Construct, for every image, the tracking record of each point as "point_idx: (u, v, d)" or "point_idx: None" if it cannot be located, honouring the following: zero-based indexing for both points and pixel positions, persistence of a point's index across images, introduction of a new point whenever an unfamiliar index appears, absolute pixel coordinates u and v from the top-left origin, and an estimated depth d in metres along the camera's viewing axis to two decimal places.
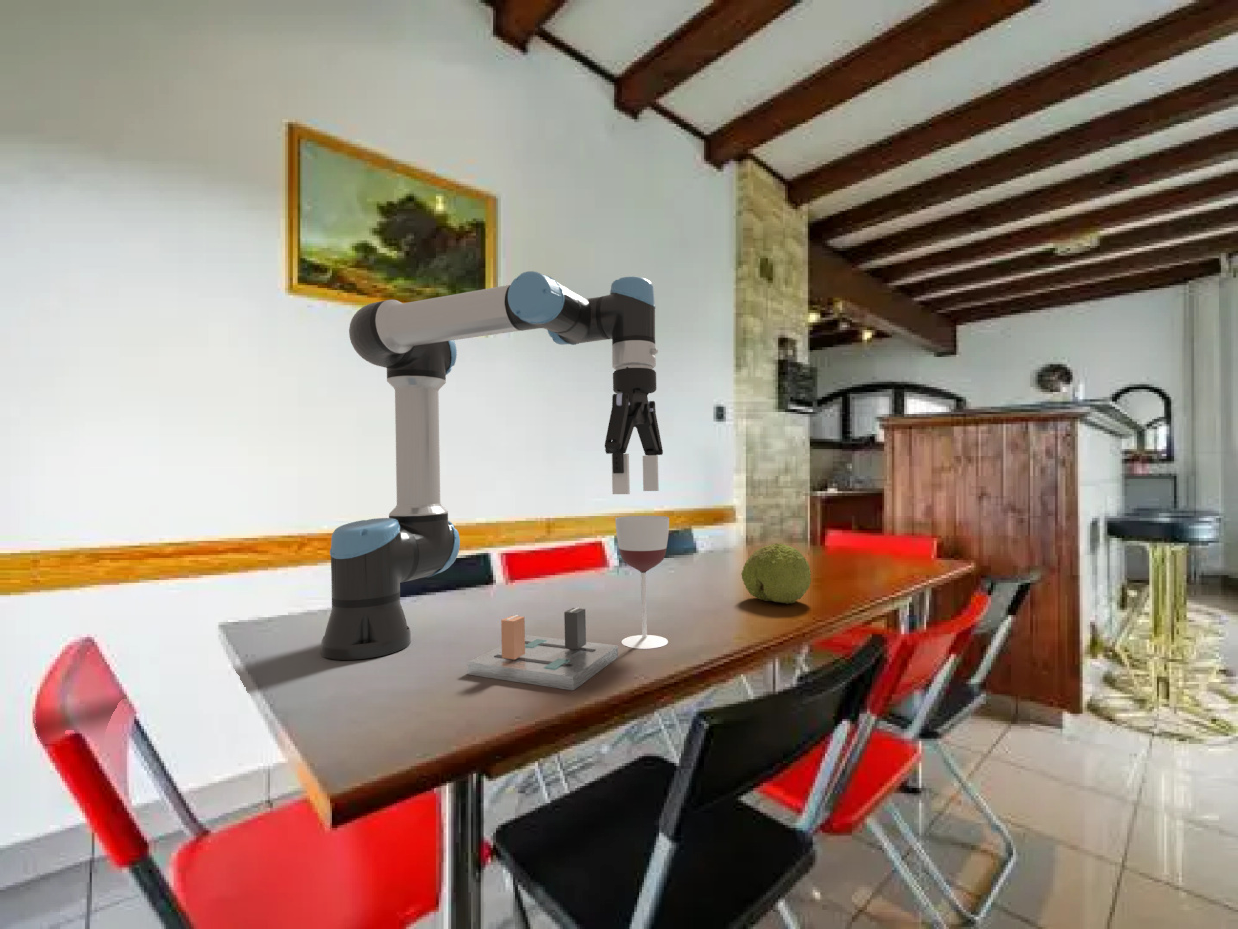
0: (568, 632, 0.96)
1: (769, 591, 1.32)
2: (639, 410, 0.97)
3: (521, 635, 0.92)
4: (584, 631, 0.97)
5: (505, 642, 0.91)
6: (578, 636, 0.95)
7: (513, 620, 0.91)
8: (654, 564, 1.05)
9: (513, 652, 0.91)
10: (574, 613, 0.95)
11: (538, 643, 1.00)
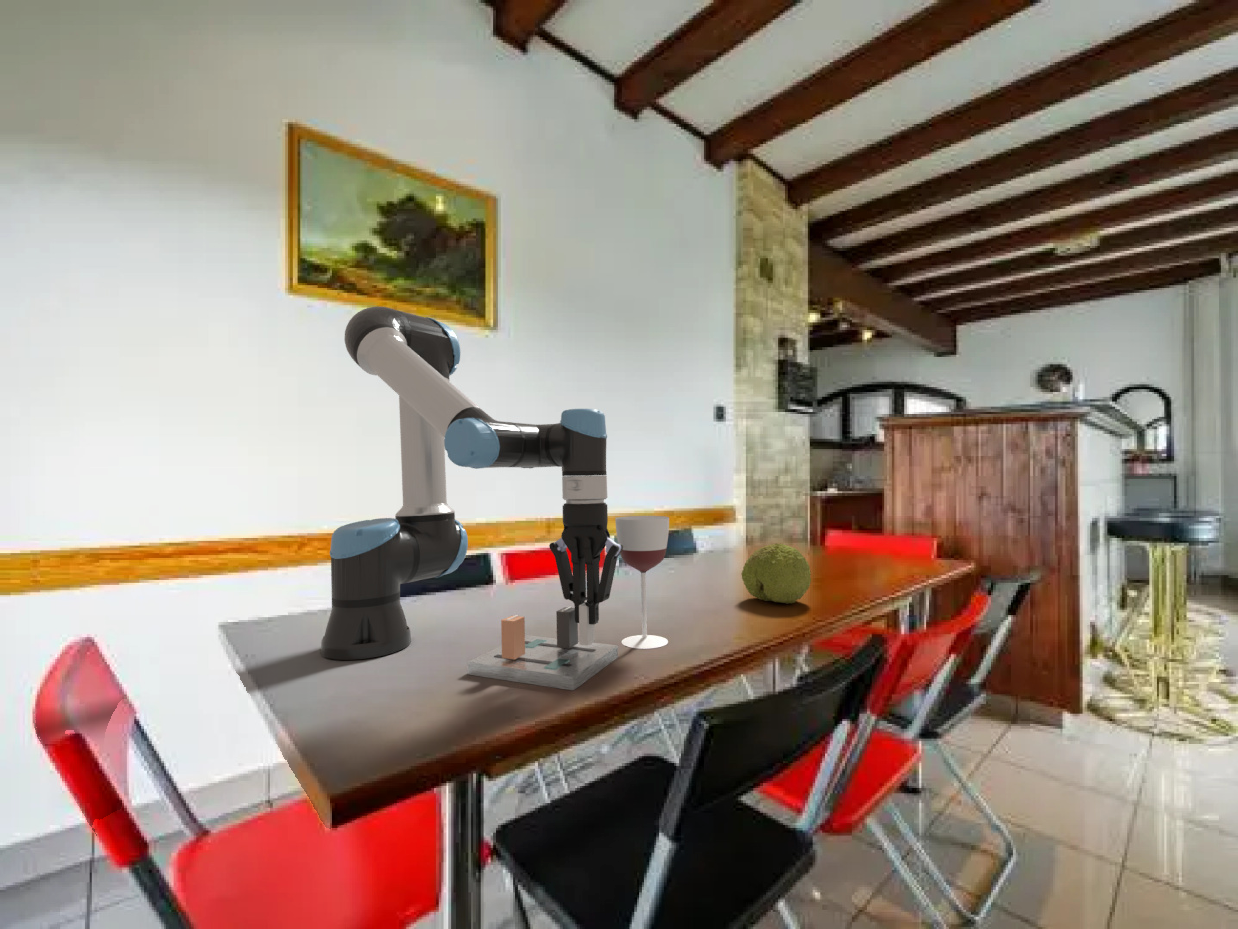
0: (560, 631, 0.96)
1: (769, 591, 1.32)
2: (573, 549, 0.95)
3: (521, 635, 0.92)
4: (576, 630, 0.98)
5: (505, 642, 0.91)
6: (570, 635, 0.96)
7: (513, 620, 0.91)
8: (654, 564, 1.05)
9: (513, 652, 0.91)
10: (566, 612, 0.96)
11: (538, 643, 1.00)
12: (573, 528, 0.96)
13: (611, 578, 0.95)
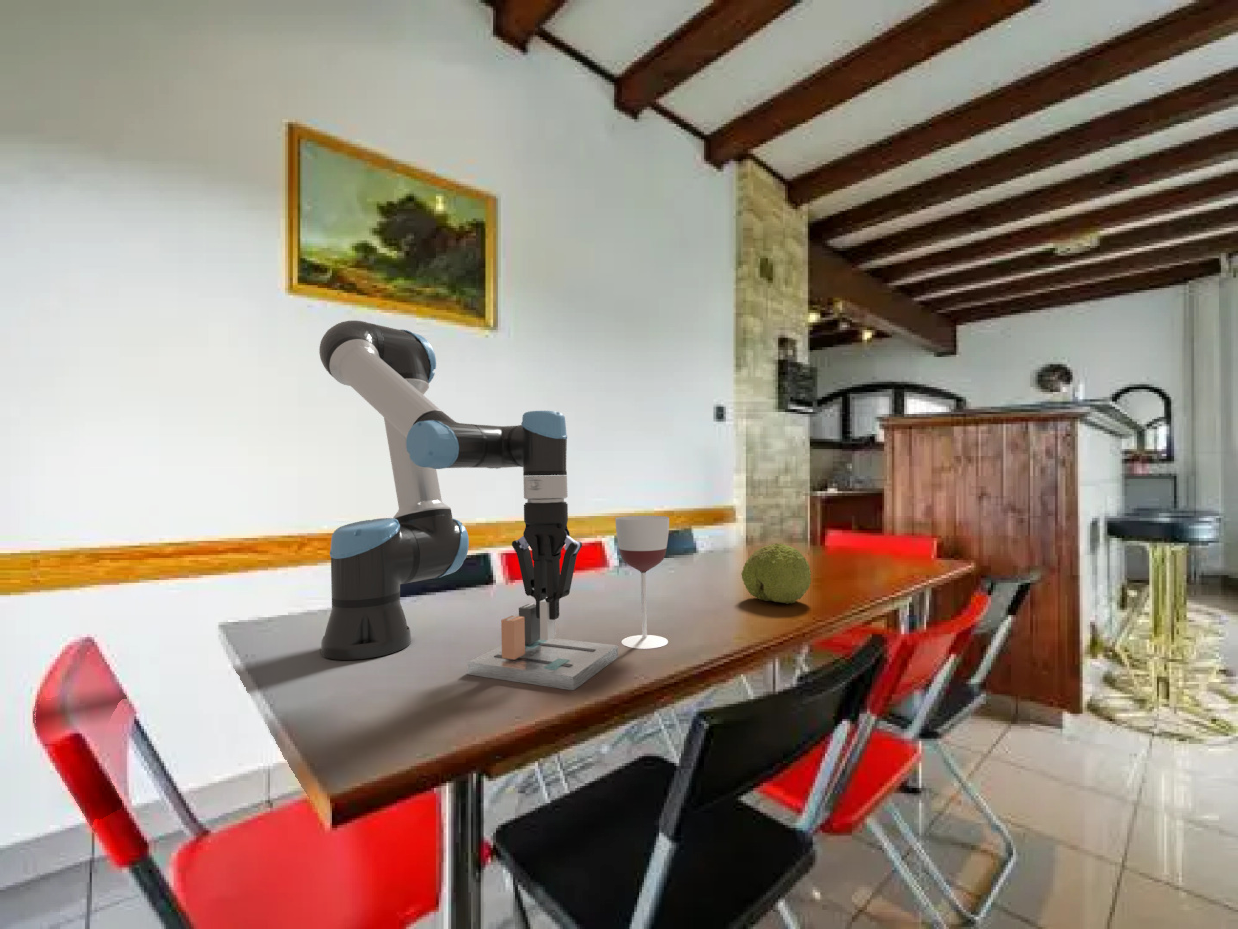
0: None
1: (769, 591, 1.32)
2: (533, 547, 0.98)
3: (521, 635, 0.92)
4: (538, 626, 1.01)
5: (505, 642, 0.91)
6: (532, 631, 0.99)
7: (513, 620, 0.91)
8: (654, 564, 1.05)
9: (513, 652, 0.91)
10: (528, 609, 0.99)
11: (538, 643, 1.00)
12: (534, 526, 0.99)
13: (571, 575, 0.98)
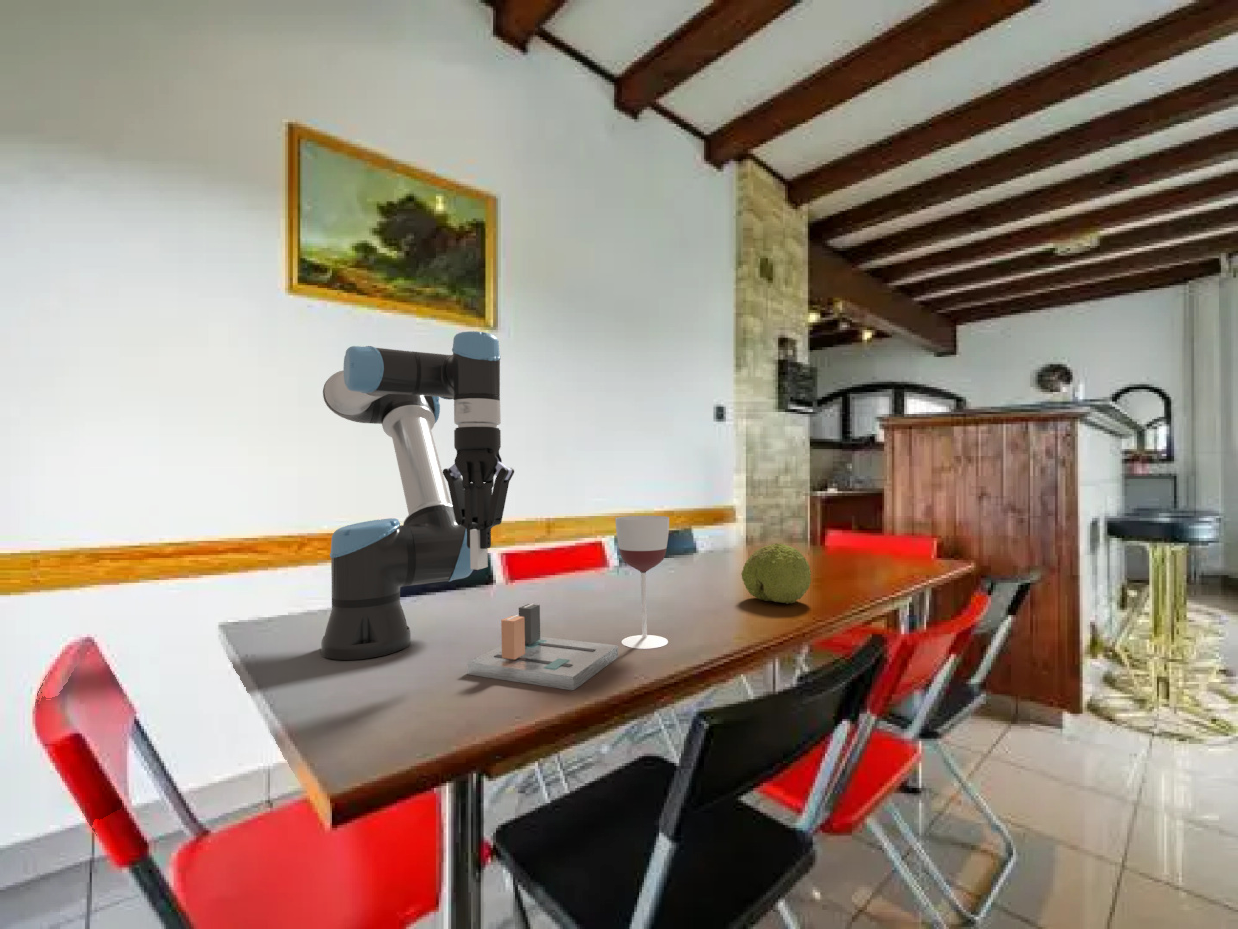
0: None
1: (769, 591, 1.32)
2: (464, 473, 0.95)
3: (521, 635, 0.92)
4: (538, 626, 1.01)
5: (505, 642, 0.91)
6: (532, 631, 0.99)
7: (513, 620, 0.91)
8: (654, 564, 1.05)
9: (513, 652, 0.91)
10: (528, 609, 0.99)
11: (538, 643, 1.00)
12: (465, 453, 0.95)
13: (502, 502, 0.95)
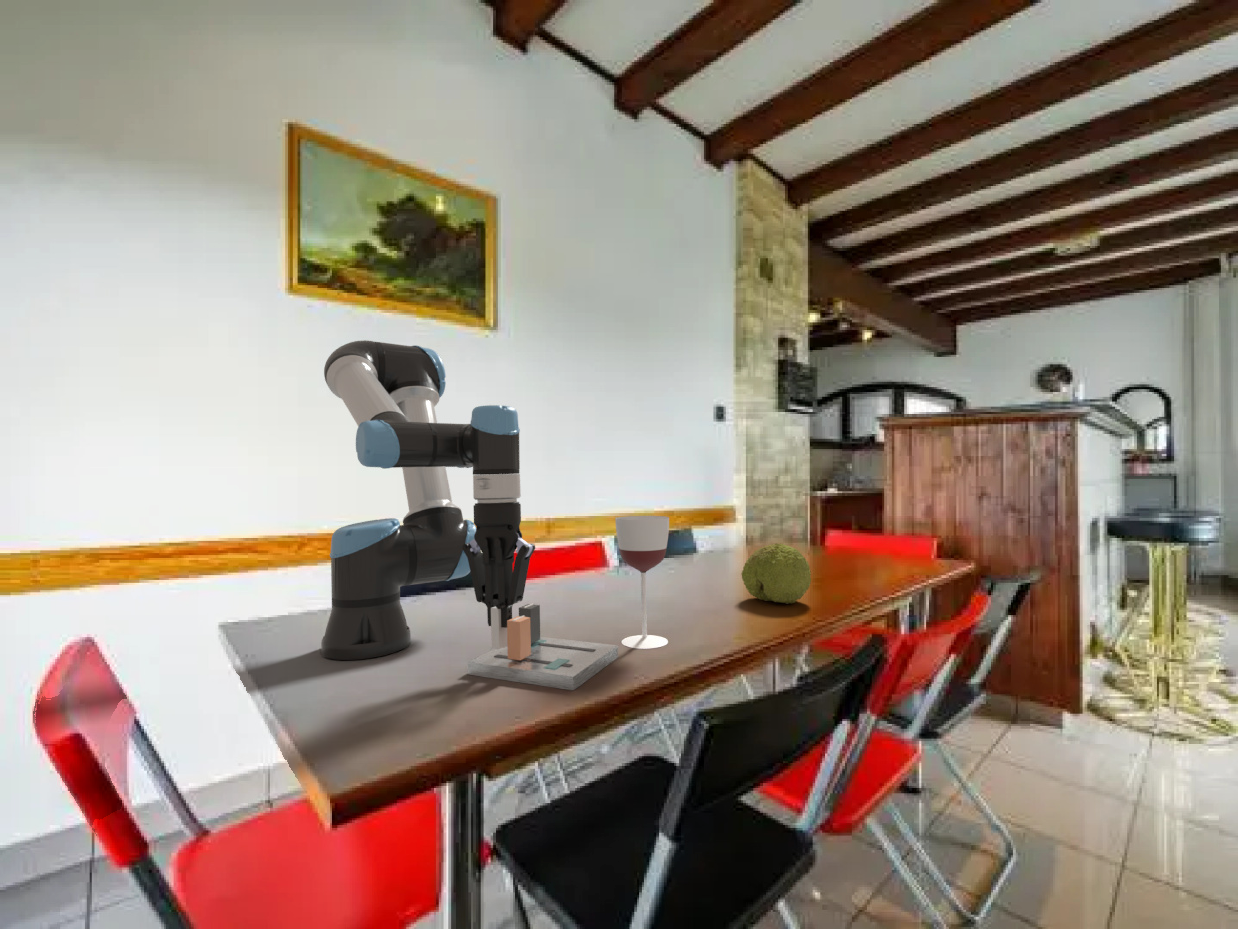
0: None
1: (769, 591, 1.32)
2: (484, 550, 0.92)
3: (527, 636, 0.92)
4: (538, 626, 1.01)
5: (511, 643, 0.91)
6: (532, 631, 0.99)
7: (519, 621, 0.91)
8: (654, 564, 1.05)
9: (519, 653, 0.90)
10: (528, 609, 0.99)
11: (538, 643, 1.00)
12: (485, 528, 0.93)
13: (523, 579, 0.92)
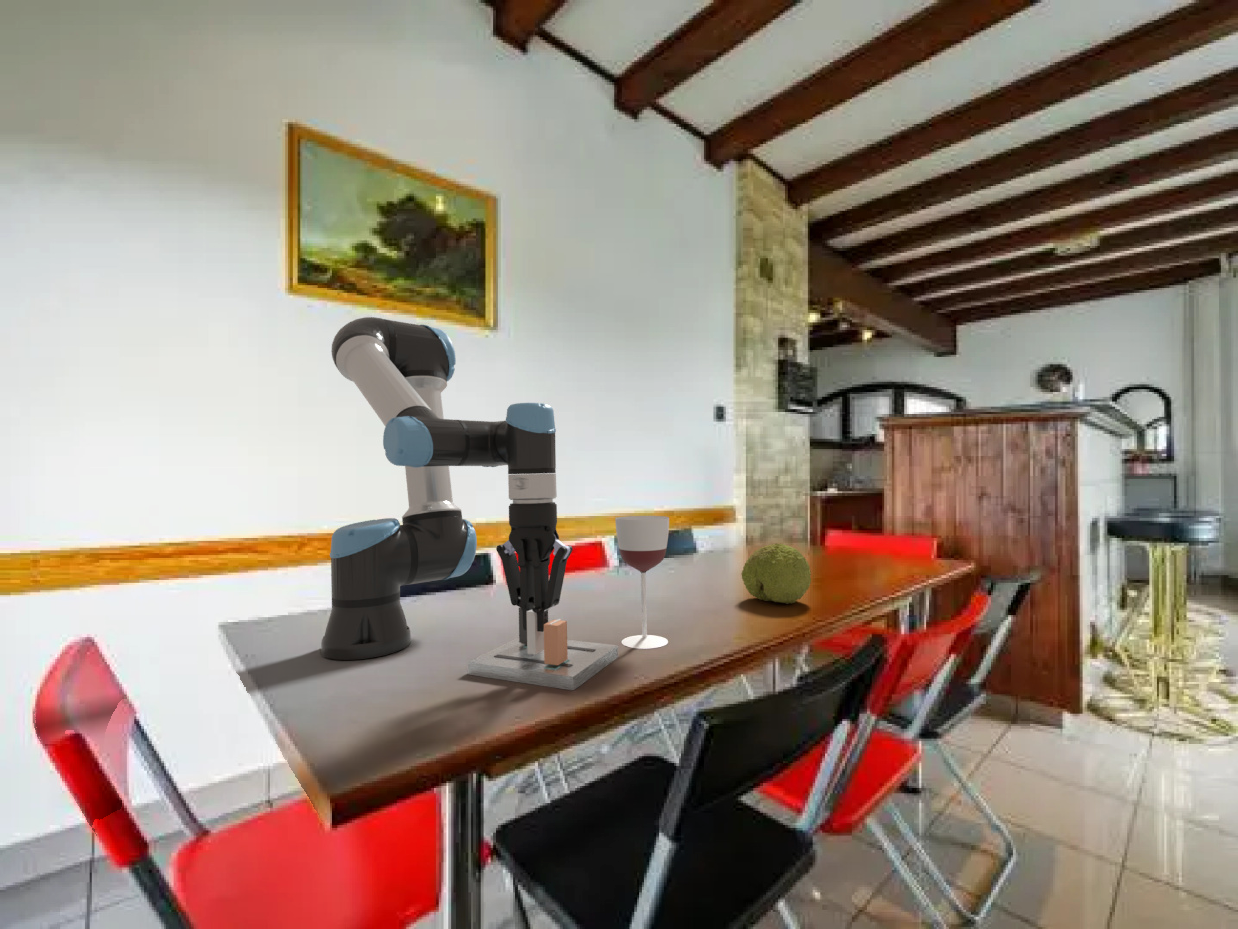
0: (522, 627, 0.99)
1: (769, 591, 1.32)
2: (519, 552, 0.90)
3: (564, 640, 0.89)
4: None
5: (548, 647, 0.88)
6: None
7: (556, 624, 0.88)
8: (654, 564, 1.05)
9: (557, 658, 0.87)
10: None
11: None
12: (520, 529, 0.91)
13: (560, 582, 0.89)
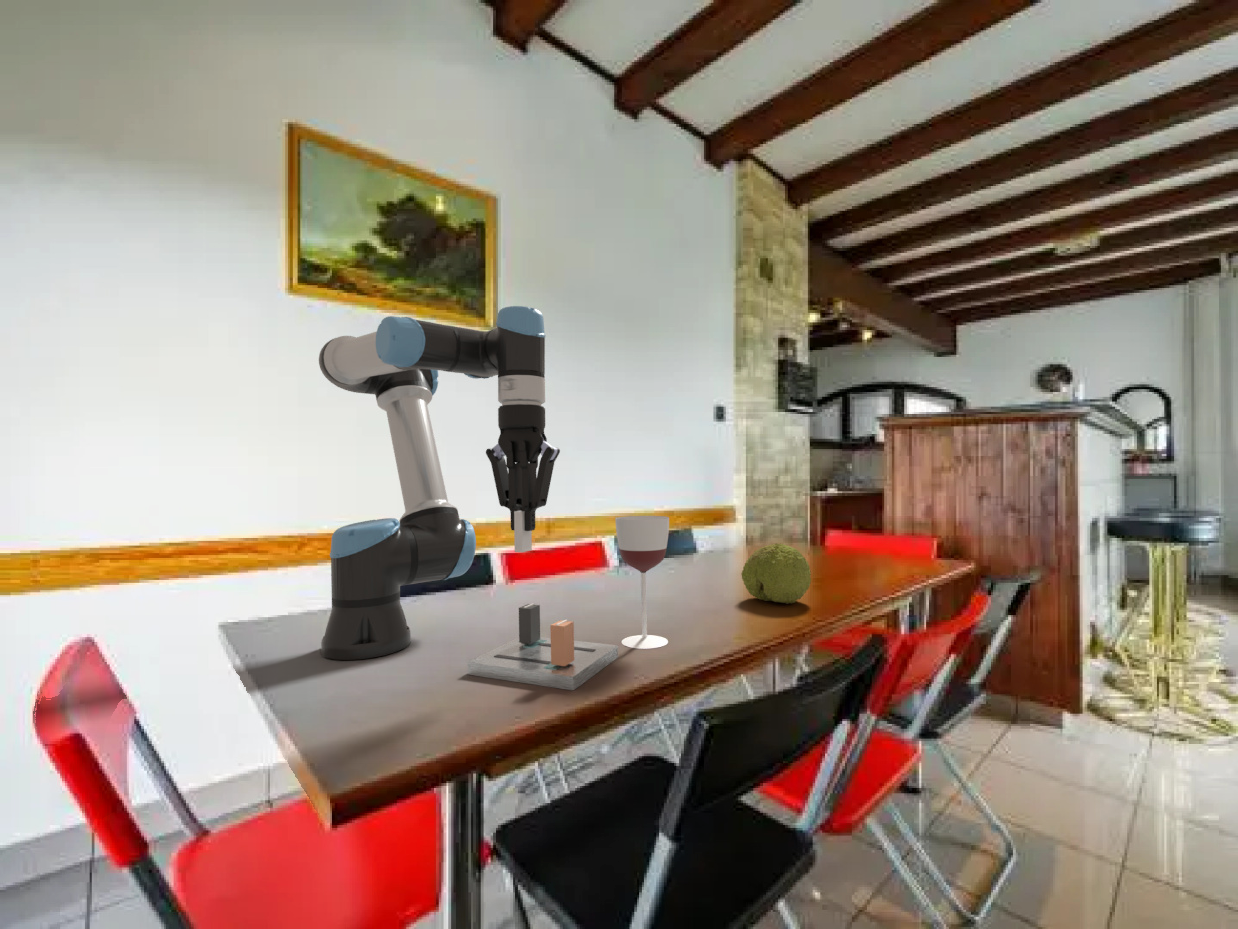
0: (522, 627, 0.99)
1: (769, 591, 1.32)
2: (508, 453, 0.92)
3: (571, 640, 0.89)
4: (538, 626, 1.01)
5: (555, 648, 0.88)
6: (532, 631, 0.99)
7: (563, 625, 0.88)
8: (654, 564, 1.05)
9: (564, 659, 0.87)
10: (528, 609, 0.99)
11: (538, 643, 1.00)
12: (509, 432, 0.93)
13: (547, 483, 0.92)
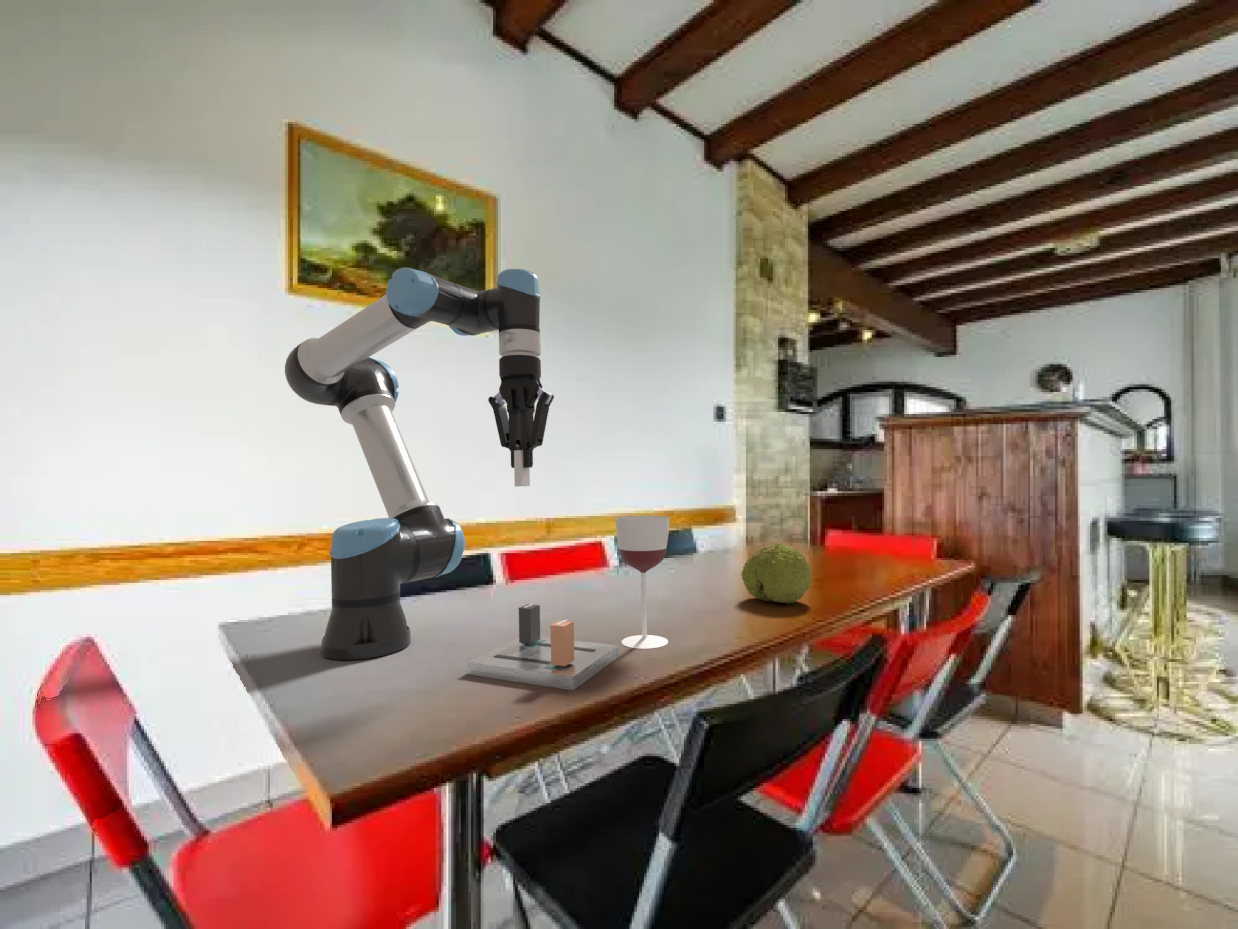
0: (522, 627, 0.99)
1: (769, 591, 1.32)
2: (508, 399, 1.04)
3: (571, 640, 0.89)
4: (538, 626, 1.01)
5: (555, 648, 0.88)
6: (532, 631, 0.99)
7: (563, 625, 0.88)
8: (654, 564, 1.05)
9: (564, 659, 0.87)
10: (528, 609, 0.99)
11: (538, 643, 1.00)
12: (509, 381, 1.05)
13: (543, 425, 1.04)
